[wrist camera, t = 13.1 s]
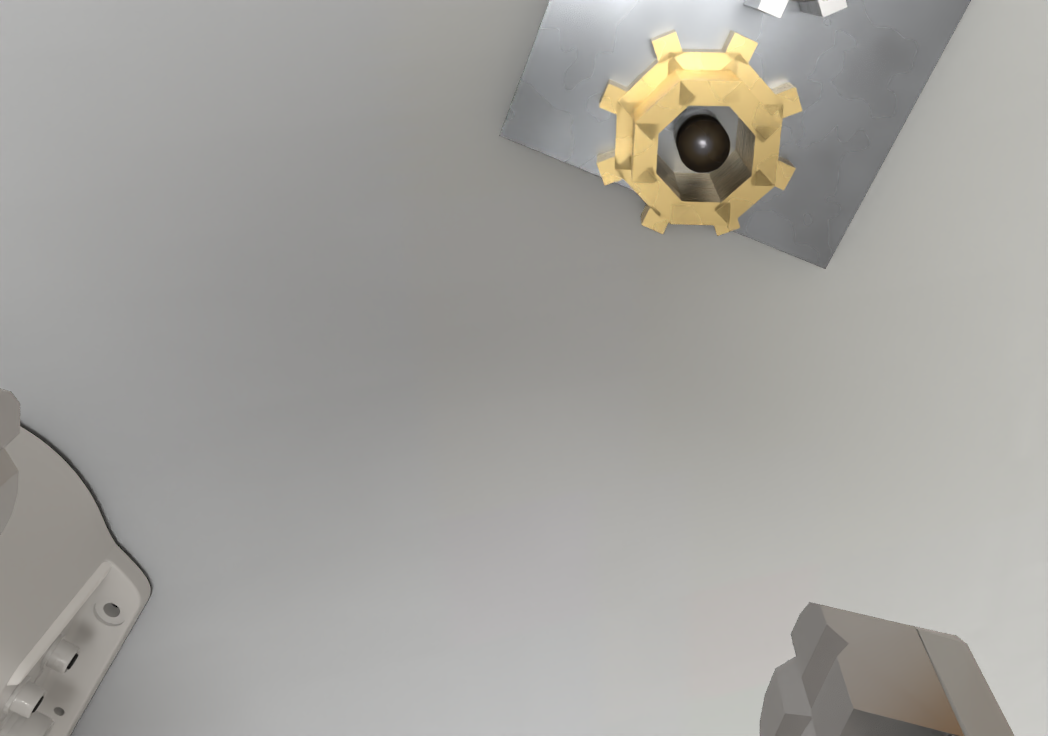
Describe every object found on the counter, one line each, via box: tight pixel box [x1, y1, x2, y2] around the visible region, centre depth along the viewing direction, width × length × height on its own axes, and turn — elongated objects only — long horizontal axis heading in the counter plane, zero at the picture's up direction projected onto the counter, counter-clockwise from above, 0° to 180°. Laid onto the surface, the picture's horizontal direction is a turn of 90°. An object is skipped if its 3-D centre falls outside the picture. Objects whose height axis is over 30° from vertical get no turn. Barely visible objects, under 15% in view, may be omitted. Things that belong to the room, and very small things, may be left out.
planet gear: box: [596, 29, 802, 236], centre depth 35 cm, size 7×7×5 cm
